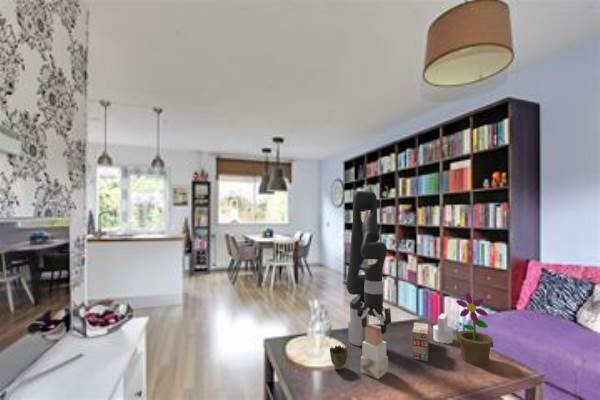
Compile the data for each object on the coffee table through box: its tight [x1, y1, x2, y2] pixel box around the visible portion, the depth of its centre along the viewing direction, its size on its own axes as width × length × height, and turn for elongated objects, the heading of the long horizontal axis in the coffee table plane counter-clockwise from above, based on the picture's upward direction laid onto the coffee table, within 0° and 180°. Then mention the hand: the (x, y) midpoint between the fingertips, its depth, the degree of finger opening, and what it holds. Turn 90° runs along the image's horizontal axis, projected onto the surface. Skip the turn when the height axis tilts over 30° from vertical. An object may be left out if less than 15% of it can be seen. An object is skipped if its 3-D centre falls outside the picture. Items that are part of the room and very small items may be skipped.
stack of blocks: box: [412, 322, 429, 362], centre depth 149 cm, size 21×6×12 cm, turn 157°
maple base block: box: [359, 355, 389, 380], centre depth 129 cm, size 8×8×6 cm
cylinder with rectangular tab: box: [432, 313, 454, 345], centre depth 161 cm, size 9×9×12 cm
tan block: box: [365, 323, 383, 346], centre depth 130 cm, size 5×5×6 cm
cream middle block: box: [361, 340, 387, 363], centre depth 129 cm, size 7×7×6 cm
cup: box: [329, 345, 348, 371], centre depth 132 cm, size 8×7×8 cm
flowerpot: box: [455, 292, 494, 367], centre depth 139 cm, size 14×14×30 cm
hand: (373, 330), depth 130 cm, fingers open, 8 cm apart
